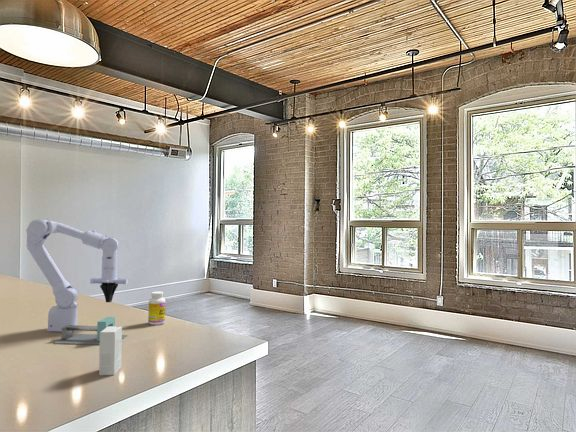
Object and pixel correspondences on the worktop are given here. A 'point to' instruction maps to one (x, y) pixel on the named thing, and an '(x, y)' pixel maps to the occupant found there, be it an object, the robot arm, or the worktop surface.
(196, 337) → the worktop surface
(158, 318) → the supplement bottle
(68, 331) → the pipe
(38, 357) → the worktop surface
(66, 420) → the worktop surface
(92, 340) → the grey rectangular plate
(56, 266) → the robot arm
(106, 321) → the teal slotted block
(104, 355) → the skincare box
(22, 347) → the worktop surface
